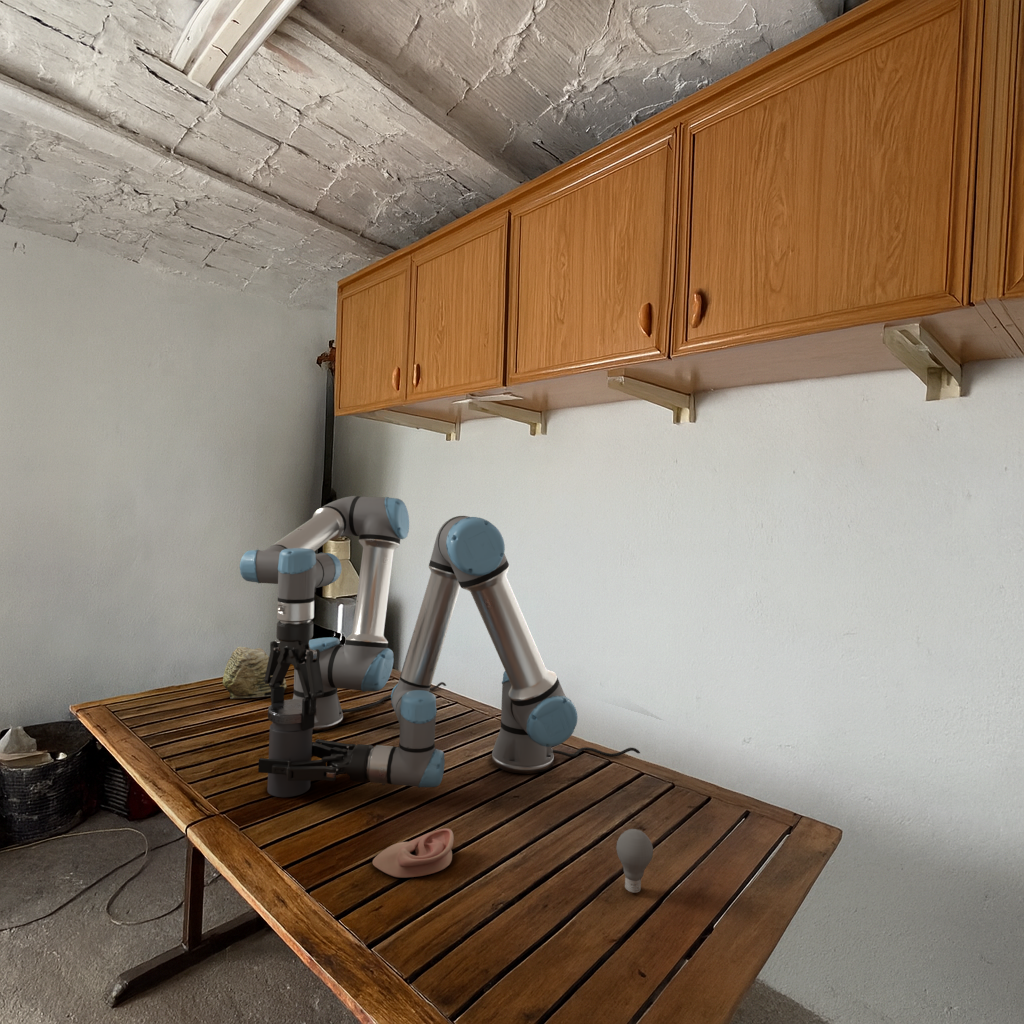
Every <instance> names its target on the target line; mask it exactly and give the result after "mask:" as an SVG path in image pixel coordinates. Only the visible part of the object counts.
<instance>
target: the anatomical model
mask: <svg viewBox="0 0 1024 1024" xmlns="http://www.w3.org/2000/svg"><path fill="white" fill-rule="evenodd" d="M454 837H455V835H454V832H453V830H452V829H451V828H440V829H437V830H434V831H430V832H427V833H425V834H423V835H420V836H418V837H416V838H414V839H412V840H411V839H410V840H409V841H400V842H397V843H394V844H392V845H390V846H387V847H386V848H385V849H383V850H382V851H380V852H379V853H377V855H376V856H375V857H374V858H373V859H372V865H373V866H374V867H375V868H376V869H378V870H379V871H381V872H382V873H385V874H386V875H389V876H391V877H394V878H399V879H401V878H402V879H405V878H414V877H415V878H416V877H423V876H427V875H431V874H436V873H438V872H440V871H443V870H444V869H446V868H447V867H448V866H450V865H451V863H452V861H453V851H452V849H453V846H454V840H455V839H454Z"/></svg>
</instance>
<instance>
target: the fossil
mask: <svg viewBox="0 0 1024 1024" xmlns="http://www.w3.org/2000/svg"><path fill="white" fill-rule="evenodd" d="M268 660H269V655H268V654H267V653H266V652H265V650H264V649H263V648H260V647H258V648H251V647H247V646H246V647H245V646H238V647H237V648H236V649H235V650H233V651H232V653H231V656H230V657H229V659H228V660H227V663H226V666H225V668H224V671H223V675H222V676H223V677H222V685H223V687H224V688H225V690H226V691H228V693H229V698H230V699H250V698H264V697H271V688H270V687H269V684H268V683H265V682H264V679H265V674H266V669H267V665H268ZM270 677H272V675H271V676H270ZM283 684H284V685H281V686H283V687H284V692H285V691H286V689H287V687H288V686H287V680H286V677H285V678H284V680H283ZM281 686H280V687H281Z"/></svg>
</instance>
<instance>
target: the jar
mask: <svg viewBox="0 0 1024 1024" xmlns="http://www.w3.org/2000/svg"><path fill="white" fill-rule="evenodd" d="M301 725H302V723H297V724H278V723H274V722H271V724H270V725H269V735H268V737H269V738H268V739H269V740H268V759H278V760H290V759H291V763H294V762H303V761H312V758H313V757H312V742H313V732H312V731H313V728H311V729H308V730H305V731H303V730H301ZM311 781H312V780H306V781H287V775H285V774H272V773H267V789H266V790H267V793H268V794H269V795H271V796H273V797H277V798H292V797H296V796H300V795H302V794H305V793H306V792H308V791H309V790H310V788H311Z"/></svg>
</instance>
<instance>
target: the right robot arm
mask: <svg viewBox="0 0 1024 1024" xmlns="http://www.w3.org/2000/svg"><path fill="white" fill-rule="evenodd" d="M434 541H435V542H434V545H433V550H432V552H431V556H430V560H429V562H428V569H429V571H430V575H429V578H428V582H427V585H426V588H425V592H424V595H423V598H422V602H421V605H420V609H419V612H418V616H417V618H416V622H415V625H414V629H413V632H412V635H411V639H410V641H409V645H408V648H407V651H406V655H405V658H404V662H403V666H402V669H401V672H400V675H399V679H398V681H397V684H395V686H394V687H393V688H392V690H391V694H390V695H391V697H390V702H391V707H392V710H393V711H394V713H395V716H396V718H397V721H398V723H399V742H398V746H392V745H381V744H376V745H375V746H373V745H372V744H362V743H360V744H359V743H357V744H356V743H344V742H339V741H331V740H327V739H320V738H317V739H315V740H314V741H312V757H311V758H313V757H316V758H319V759H311V761H303V762H294V763H291V759H290V760H278V759H269V758H266V757H265V758H264V757H263V758H262V757H260V758H258V767H257V769H258V771H257V773H261V774H268V773H272V774H285V775H287V781H306V780H311V781H328V782H336V780H337V776H338V775H339V776H340V775H348V777H349V780H350V781H351V782H353V783H368V782H369V783H371V784H381V785H382V786H386V785H393V786H394V785H396V786H404V787H405V786H406V787H417V788H419V789H420V788H436V787H438V786H440V785H441V783H442V781H443V777H444V774H445V773H444V772H445V762H446V759H445V752H444V751H443V750H441V749H438V748H436V745H435V739H436V723H437V722H436V721H437V713H438V709H437V697H436V695H435V694H434V693H433V692H431V691H430V688H432V683H433V679H434V676H435V673H436V670H437V666H438V663H439V659H440V657H441V654H442V650H443V646H444V643H445V640H446V636H447V634H448V629H449V627H450V623H451V619H452V616H453V614H454V613H453V612H454V611H455V610H454V609H455V606H456V603H457V600H458V597H459V593H460V590H461V589H463V590H466V591H469V592H470V594H471V596H472V599H473V601H474V604H475V605H476V608H477V610H478V612H479V615H480V617H481V619H482V621H483V624H484V626H485V628H486V631H487V632H488V633H487V634H488V635H489V637H490V639H491V642H492V644H493V646H494V648H495V649H494V650H496V653H497V656H498V657H499V661H500V662H501V664H502V667H503V669H504V671H503V675H502V681H501V685H502V687H501V710H500V729H499V732H498V735H497V737H496V740H495V743H494V745H493V748H492V751H491V753H492V754H491V762H492V764H493V765H494V766H495V767H497V768H498V769H500V770H503V771H505V772H509V773H513V774H522V775H529V774H533V775H534V774H539V773H542V772H546V771H548V770H550V769H551V768H552V767H553V766H554V762H555V761H554V759H555V755H554V754H558V755H562V756H565V757H568V758H575V757H577V756H578V755H579V754H580V753H582V752H585V751H587V752H588V751H589V752H593V753H595V754H599V755H601V756H605V757H609V758H614V757H615V758H616V757H620V756H622V755H624V754H626V753H629V752H635V753H636V754H641V751H640V750H639V749H638V748H636V747H628V748H625V749H623V750H621V751H619V752H614V753H612V752H611V753H610V752H604V751H602V750H600V749H597V748H593V747H589V746H587V747H580V748H578V749H577V751H576V752H574V753H568V752H565V751H562V750H557V749H553V748H552V747H557V746H560V745H561V744H564V743H565V742H567V740H568V739H570V738H571V736H572V735H573V734H574V732H575V729H576V727H577V723H578V720H579V719H578V712H577V711H578V710H577V708H576V706H575V704H574V702H572V700H571V699H570V698H569V697H567V695H566V694H565V692H564V690H563V687H562V685H561V683H560V680H559V678H558V676H557V673H556V672H554V671H553V670H550V669H547V667H546V665H545V663H544V660H543V658H542V656H541V653H540V651H539V648H538V646H537V645H536V644H537V643H536V642H535V639H534V637H533V635H532V633H531V630H530V628H529V626H528V623H527V620H526V618H525V616H524V614H523V611H522V608H521V606H520V604H519V601H518V599H517V598H516V595H515V593H514V591H513V588H512V585H511V583H510V581H509V579H508V576H507V574H508V572H509V570H510V566H511V565H510V564H509V561H508V559H507V556H506V555H505V551H506V547H505V546H506V544H505V540H504V537H503V535H502V533H501V531H500V530H499V529H498V527H496V526H495V525H494V524H493V523H491V521H489V520H487V519H484V518H482V517H478V516H467V515H457V516H454V517H451V518H449V519H448V520H446V521H444V523H443V524H442V525H441V527H439V529H438V532H437V534H436V538H435V540H434Z"/></svg>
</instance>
